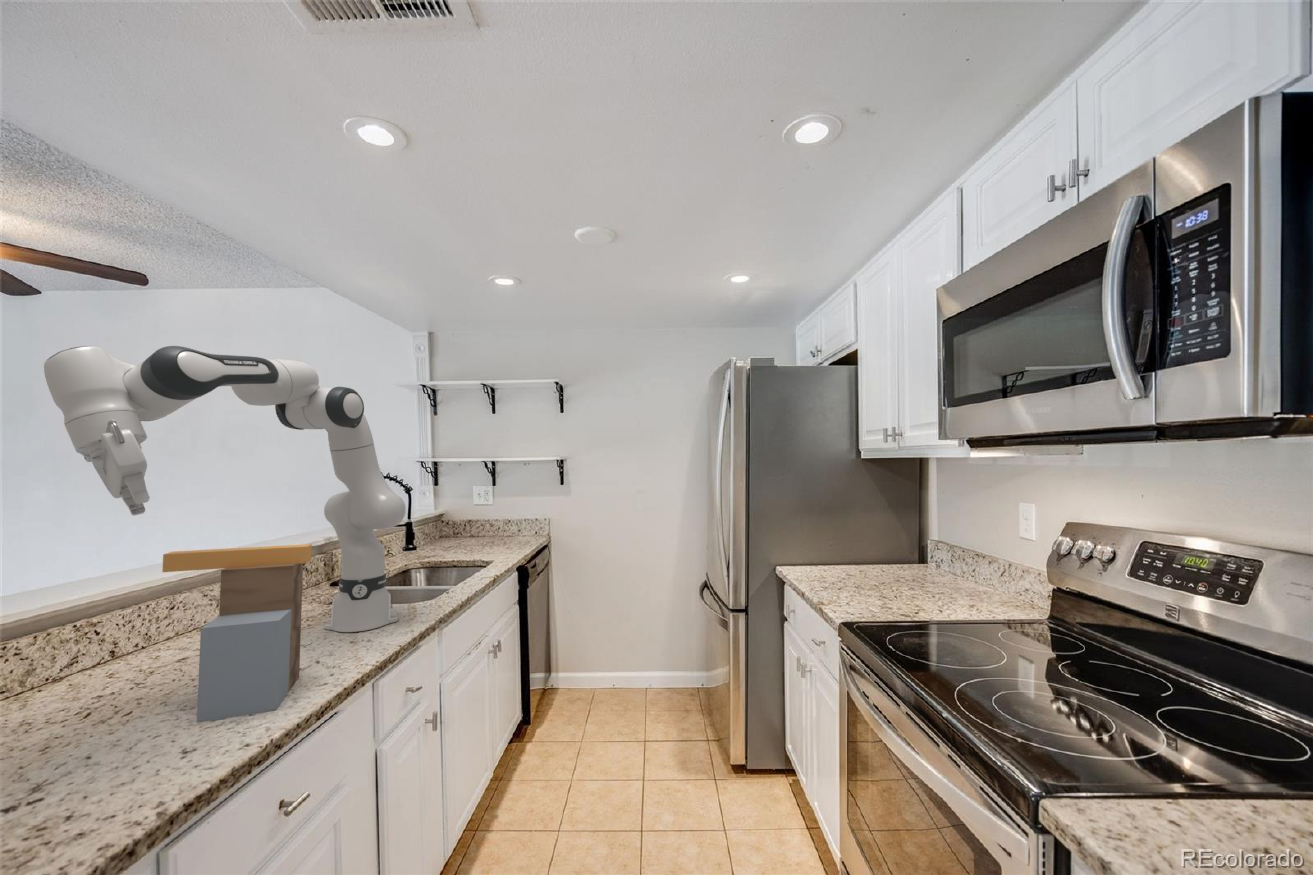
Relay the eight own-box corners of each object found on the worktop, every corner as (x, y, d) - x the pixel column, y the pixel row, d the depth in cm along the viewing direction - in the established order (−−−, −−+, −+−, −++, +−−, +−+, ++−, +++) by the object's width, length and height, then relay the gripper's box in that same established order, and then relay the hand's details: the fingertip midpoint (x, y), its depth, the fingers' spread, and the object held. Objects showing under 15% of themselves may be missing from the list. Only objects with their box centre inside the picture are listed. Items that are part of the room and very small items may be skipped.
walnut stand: (231, 686, 107) (236, 563, 108) (299, 677, 111) (303, 558, 113) (215, 703, 99) (221, 570, 101) (288, 692, 104) (292, 565, 105)
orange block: (171, 568, 102) (172, 551, 102) (311, 560, 111) (311, 544, 111) (162, 572, 99) (163, 554, 99) (306, 562, 108) (307, 546, 108)
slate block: (215, 703, 99) (219, 616, 100) (288, 692, 104) (291, 609, 105) (196, 722, 92) (200, 628, 93) (276, 710, 97) (279, 620, 97)
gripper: (138, 412, 84) (171, 488, 84) (131, 447, 97) (160, 513, 97) (82, 420, 79) (118, 501, 79) (83, 456, 92) (113, 526, 92)
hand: (141, 508), depth 88 cm, fingers open, 8 cm apart
